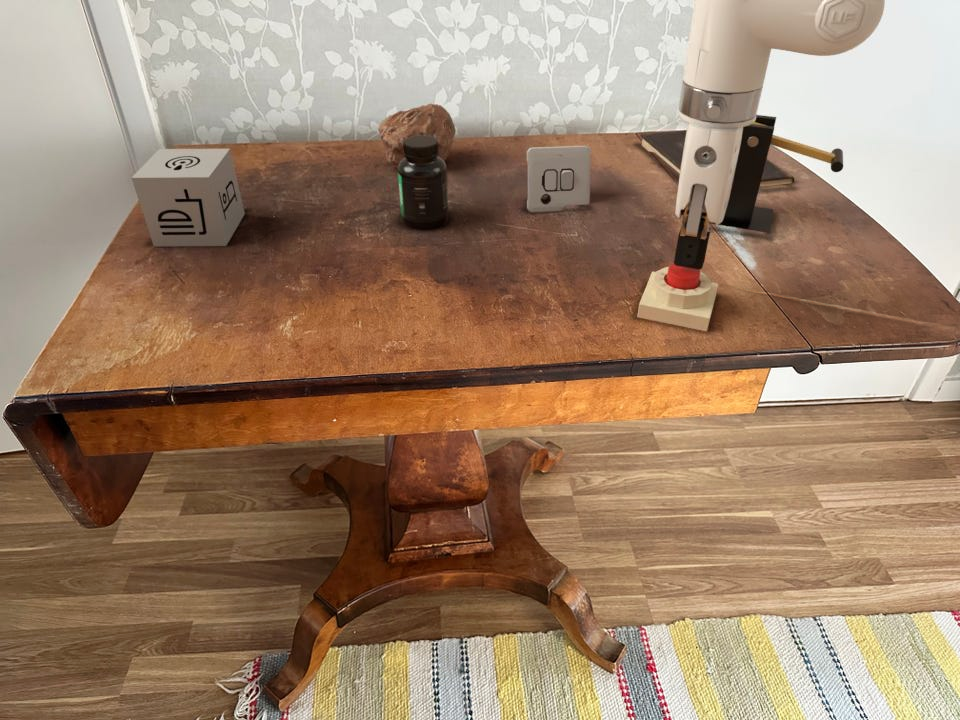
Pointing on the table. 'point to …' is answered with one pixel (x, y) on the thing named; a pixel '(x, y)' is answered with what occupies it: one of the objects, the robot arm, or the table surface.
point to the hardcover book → (672, 153)
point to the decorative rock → (416, 130)
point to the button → (682, 277)
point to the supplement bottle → (422, 184)
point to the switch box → (678, 302)
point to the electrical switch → (558, 177)
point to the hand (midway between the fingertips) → (688, 263)
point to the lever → (810, 151)
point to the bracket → (750, 178)
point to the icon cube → (189, 197)
